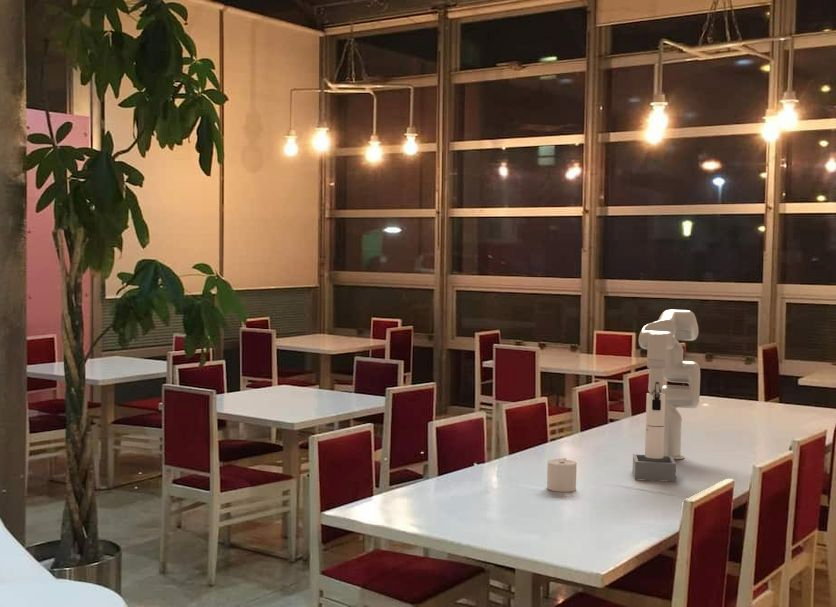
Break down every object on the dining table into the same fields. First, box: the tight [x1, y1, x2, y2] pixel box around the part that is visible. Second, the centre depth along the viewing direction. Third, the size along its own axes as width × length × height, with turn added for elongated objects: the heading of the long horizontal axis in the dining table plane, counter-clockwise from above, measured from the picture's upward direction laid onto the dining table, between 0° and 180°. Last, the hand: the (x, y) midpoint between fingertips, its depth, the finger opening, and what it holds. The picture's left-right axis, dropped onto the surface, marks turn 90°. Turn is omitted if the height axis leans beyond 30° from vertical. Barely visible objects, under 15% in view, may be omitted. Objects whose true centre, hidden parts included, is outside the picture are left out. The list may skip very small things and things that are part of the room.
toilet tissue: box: [546, 457, 578, 493], centre depth 353 cm, size 11×12×10 cm
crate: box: [632, 453, 677, 482], centre depth 377 cm, size 15×15×7 cm
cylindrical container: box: [644, 392, 665, 459], centre depth 376 cm, size 7×7×25 cm
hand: (655, 408), depth 376 cm, fingers closed on cylindrical container, 7 cm apart
